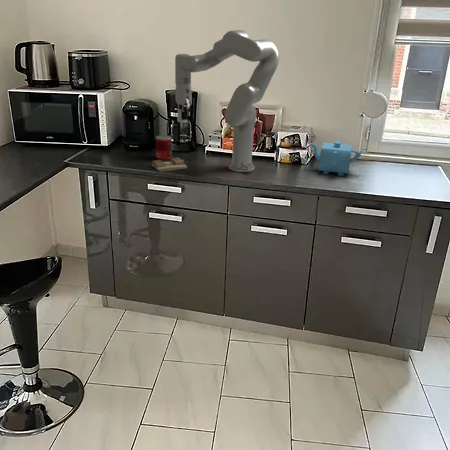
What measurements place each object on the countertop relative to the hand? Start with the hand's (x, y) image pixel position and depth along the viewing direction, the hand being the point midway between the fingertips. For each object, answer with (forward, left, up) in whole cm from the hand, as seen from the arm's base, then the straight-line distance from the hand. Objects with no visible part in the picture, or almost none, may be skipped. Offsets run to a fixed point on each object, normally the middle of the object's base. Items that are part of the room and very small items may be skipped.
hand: (182, 118), depth 244 cm
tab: (0, 0, -2) cm, 2 cm away
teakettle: (-52, -55, -20) cm, 79 cm away
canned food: (0, +11, -20) cm, 22 cm away
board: (-14, +14, -20) cm, 28 cm away
